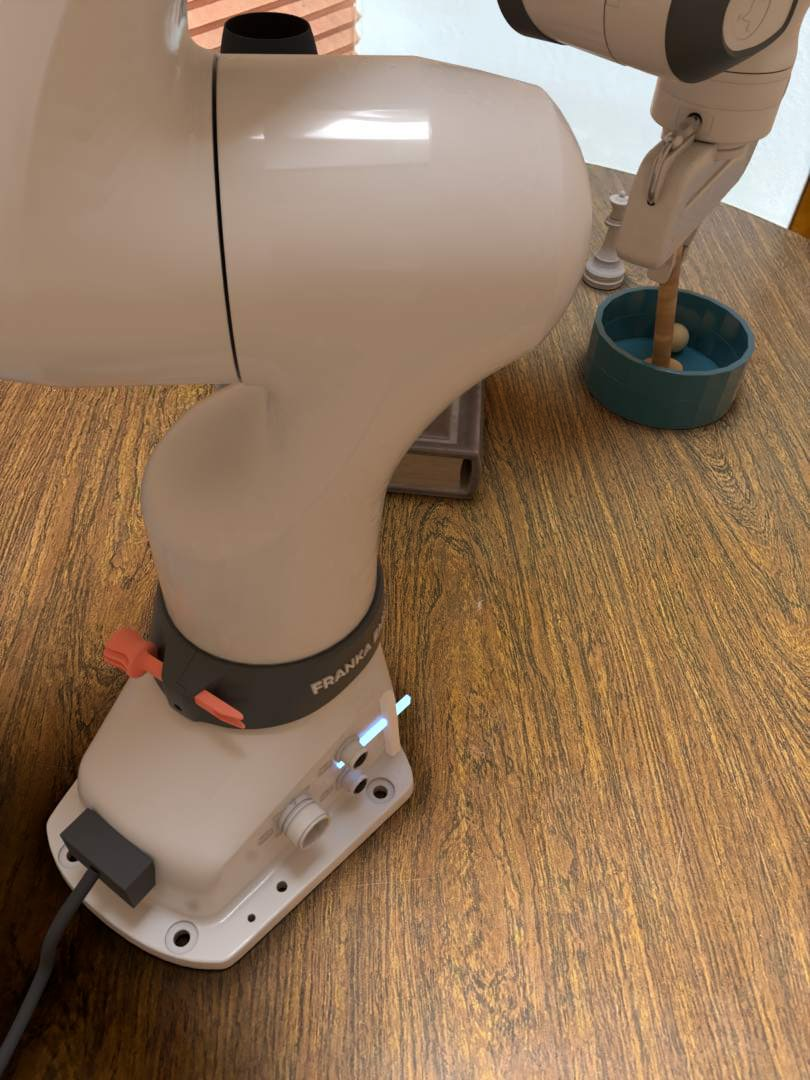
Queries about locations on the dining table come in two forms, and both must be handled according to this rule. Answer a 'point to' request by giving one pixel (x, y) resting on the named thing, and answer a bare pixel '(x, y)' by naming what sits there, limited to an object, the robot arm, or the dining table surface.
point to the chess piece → (608, 251)
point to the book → (444, 451)
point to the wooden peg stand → (666, 320)
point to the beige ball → (679, 337)
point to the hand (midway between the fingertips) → (665, 270)
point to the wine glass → (267, 34)
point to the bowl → (664, 392)
